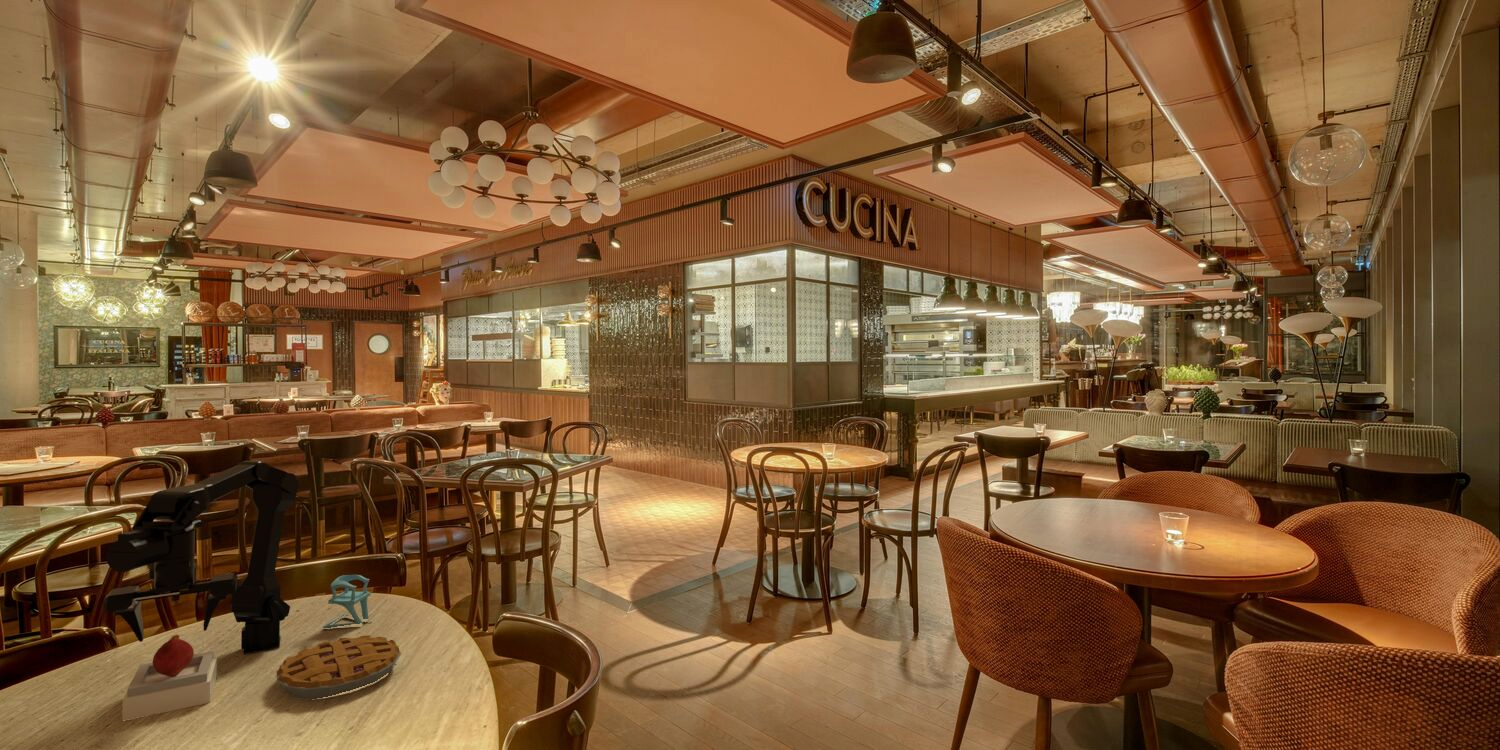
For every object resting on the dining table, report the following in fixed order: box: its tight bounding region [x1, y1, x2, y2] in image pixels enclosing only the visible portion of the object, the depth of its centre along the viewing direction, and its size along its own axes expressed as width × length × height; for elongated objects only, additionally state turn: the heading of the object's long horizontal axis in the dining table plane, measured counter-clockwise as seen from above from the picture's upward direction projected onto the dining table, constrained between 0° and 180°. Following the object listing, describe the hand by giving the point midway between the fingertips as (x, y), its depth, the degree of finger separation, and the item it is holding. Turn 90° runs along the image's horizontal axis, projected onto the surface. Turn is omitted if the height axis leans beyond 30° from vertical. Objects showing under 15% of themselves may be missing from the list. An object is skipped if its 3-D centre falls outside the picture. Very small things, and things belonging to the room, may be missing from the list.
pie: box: [276, 634, 402, 701], centre depth 132 cm, size 22×22×5 cm
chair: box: [322, 574, 371, 629], centre depth 157 cm, size 8×8×12 cm
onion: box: [152, 633, 195, 677], centre depth 122 cm, size 6×6×8 cm
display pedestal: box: [122, 651, 218, 721], centre depth 122 cm, size 12×12×6 cm
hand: (174, 635), depth 122 cm, fingers open, 9 cm apart
